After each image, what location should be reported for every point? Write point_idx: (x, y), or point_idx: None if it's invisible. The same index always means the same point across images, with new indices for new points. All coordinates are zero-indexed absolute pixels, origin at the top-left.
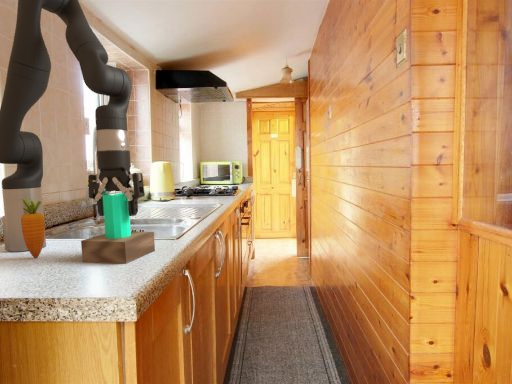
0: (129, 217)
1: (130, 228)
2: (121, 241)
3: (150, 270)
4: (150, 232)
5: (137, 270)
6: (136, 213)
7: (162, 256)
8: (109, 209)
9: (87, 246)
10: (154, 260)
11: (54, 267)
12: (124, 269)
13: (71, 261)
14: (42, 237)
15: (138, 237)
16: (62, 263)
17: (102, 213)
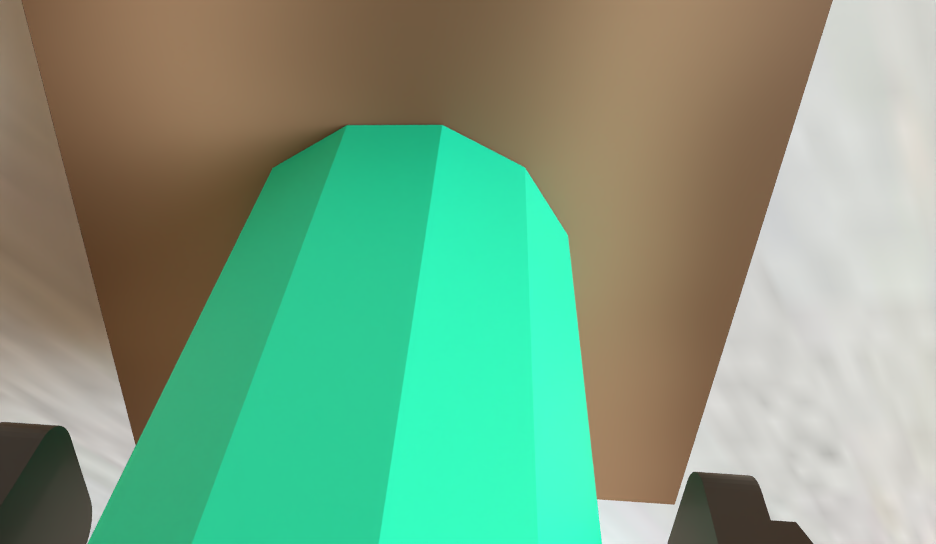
0: (587, 428)
1: (568, 285)
2: (627, 492)
3: (906, 470)
4: (802, 14)
5: (808, 473)
6: (756, 487)
7: (926, 135)
8: None
9: None
10: (872, 265)
11: (132, 447)
12: (700, 461)
13: (100, 323)
14: None
15: (731, 322)
16: (84, 370)
17: (67, 539)
